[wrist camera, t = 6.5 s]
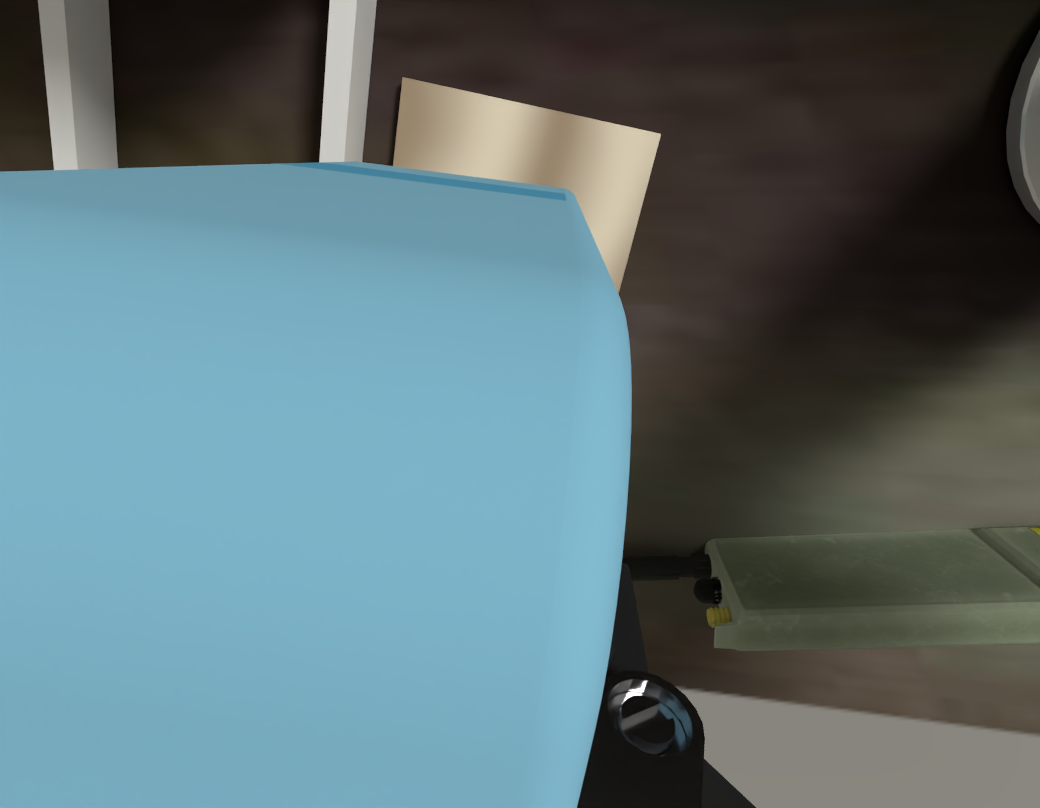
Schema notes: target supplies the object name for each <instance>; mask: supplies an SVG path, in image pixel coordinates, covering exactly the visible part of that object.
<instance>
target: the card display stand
mask: <svg viewBox="0 0 1040 808" xmlns="http://www.w3.org/2000/svg"><path fill="white" fill-rule="evenodd" d="M376 3H377V0H330V4H329V20H328V35H327V50H326V66H325V81H324V97H323V112H322V127H321V143H320V158H319V163H320V162H362V157H363V146H364V135H365V124H366V113H367V102H368V91H369V80H370V69H371V58H372V47H373V36H374V25H375V14H376ZM38 7H39V17H40V28H41V38H42V49H43V59H44V69H45V80H46V90H47V101H48V111H49V122H50V132H51V143H52V153H53V164H54V170H80V169H114V168H118V161H117V143H116V125H115V108H114V90H113V73H112V55H111V38H110V20H109V2H108V0H38Z"/></svg>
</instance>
